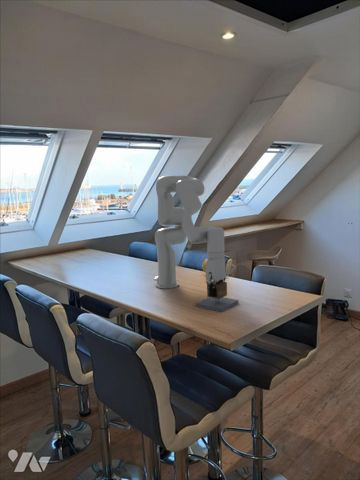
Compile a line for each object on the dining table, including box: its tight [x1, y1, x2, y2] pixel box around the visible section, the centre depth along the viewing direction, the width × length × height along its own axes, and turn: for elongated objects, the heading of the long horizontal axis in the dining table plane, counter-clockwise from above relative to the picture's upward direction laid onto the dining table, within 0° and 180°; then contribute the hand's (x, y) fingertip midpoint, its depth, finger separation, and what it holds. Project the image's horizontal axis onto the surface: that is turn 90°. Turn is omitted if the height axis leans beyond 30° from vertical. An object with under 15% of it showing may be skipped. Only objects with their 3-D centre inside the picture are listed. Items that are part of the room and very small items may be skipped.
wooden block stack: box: [206, 281, 228, 299], centre depth 165 cm, size 6×6×6 cm
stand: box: [194, 296, 239, 313], centre depth 166 cm, size 14×14×8 cm
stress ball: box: [201, 257, 208, 274], centre depth 223 cm, size 10×10×10 cm
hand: (217, 294), depth 166 cm, fingers closed on wooden block stack, 6 cm apart
